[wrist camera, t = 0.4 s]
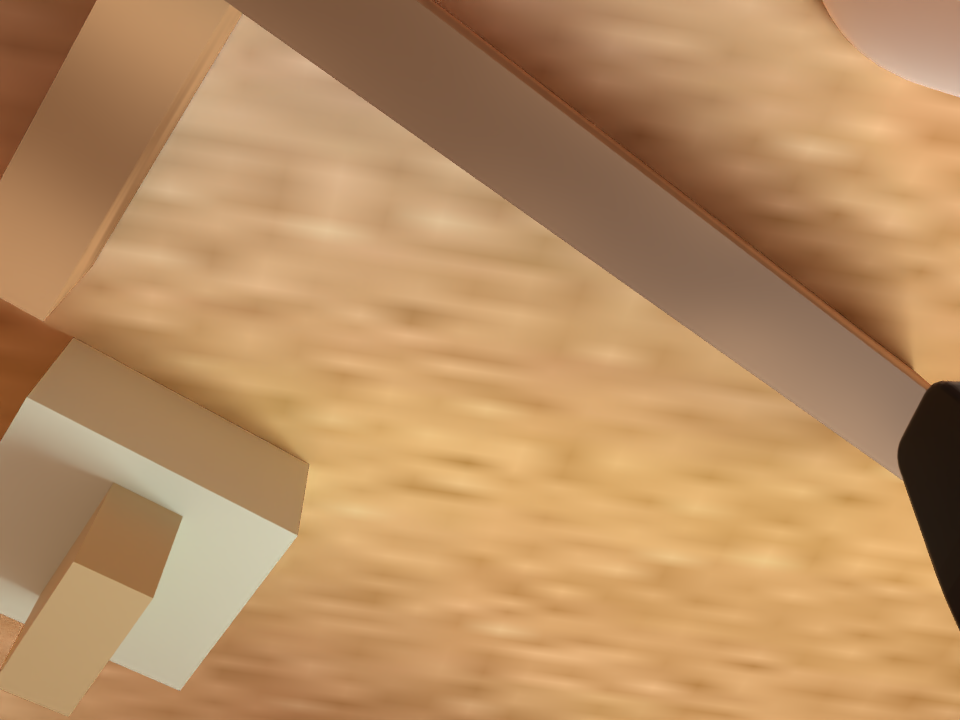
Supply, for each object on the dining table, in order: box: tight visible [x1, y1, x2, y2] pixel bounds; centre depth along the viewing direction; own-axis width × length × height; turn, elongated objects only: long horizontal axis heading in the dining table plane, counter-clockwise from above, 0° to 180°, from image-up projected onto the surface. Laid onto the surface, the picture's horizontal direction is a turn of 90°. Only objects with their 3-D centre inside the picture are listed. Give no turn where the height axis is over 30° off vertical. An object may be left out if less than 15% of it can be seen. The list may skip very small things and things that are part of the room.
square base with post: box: [0, 337, 309, 717], centre depth 23 cm, size 6×7×6 cm
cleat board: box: [0, 0, 931, 480], centre depth 22 cm, size 10×22×4 cm, turn 54°
